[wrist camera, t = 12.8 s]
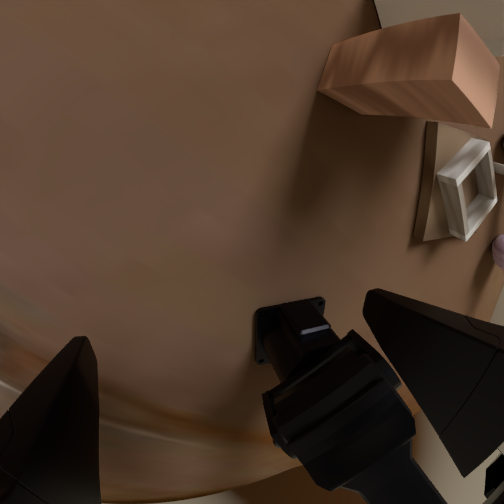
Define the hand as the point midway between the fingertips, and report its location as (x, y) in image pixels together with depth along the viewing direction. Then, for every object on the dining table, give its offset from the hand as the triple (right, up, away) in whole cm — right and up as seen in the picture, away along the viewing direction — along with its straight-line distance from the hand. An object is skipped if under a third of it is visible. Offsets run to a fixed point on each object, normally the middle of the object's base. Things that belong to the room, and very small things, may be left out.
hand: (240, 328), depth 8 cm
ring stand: (+23, +10, +18) cm, 31 cm away
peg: (+8, +16, +11) cm, 20 cm away
